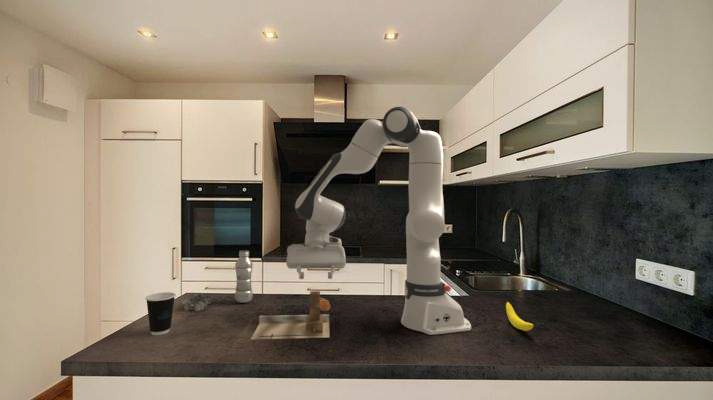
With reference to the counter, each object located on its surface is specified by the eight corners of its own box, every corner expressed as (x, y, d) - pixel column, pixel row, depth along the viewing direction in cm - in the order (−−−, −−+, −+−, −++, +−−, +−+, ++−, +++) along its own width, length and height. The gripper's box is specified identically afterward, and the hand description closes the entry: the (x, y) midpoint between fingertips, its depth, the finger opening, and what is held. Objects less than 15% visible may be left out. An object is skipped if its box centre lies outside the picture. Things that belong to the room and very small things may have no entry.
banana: (527, 341, 99) (528, 319, 99) (502, 318, 118) (502, 300, 118) (537, 341, 98) (538, 320, 98) (510, 318, 117) (511, 300, 117)
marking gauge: (322, 324, 105) (323, 289, 105) (322, 334, 98) (323, 296, 98) (306, 324, 105) (307, 289, 105) (305, 334, 97) (306, 296, 97)
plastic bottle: (247, 305, 127) (247, 252, 127) (231, 303, 128) (231, 252, 128) (255, 300, 133) (256, 250, 133) (240, 298, 135) (240, 249, 135)
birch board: (329, 325, 109) (329, 314, 109) (329, 342, 96) (329, 330, 96) (259, 326, 107) (259, 315, 107) (250, 344, 94) (251, 332, 94)
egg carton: (200, 312, 120) (200, 300, 120) (180, 311, 120) (180, 300, 120) (214, 302, 131) (214, 292, 131) (195, 301, 131) (195, 291, 131)
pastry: (334, 314, 119) (334, 303, 119) (315, 316, 117) (315, 305, 117) (327, 306, 128) (327, 296, 128) (309, 308, 126) (309, 298, 126)
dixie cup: (155, 326, 105) (155, 291, 105) (180, 327, 105) (180, 292, 105) (138, 337, 97) (139, 299, 97) (165, 337, 97) (166, 300, 97)
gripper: (287, 238, 117) (283, 273, 107) (345, 239, 119) (346, 272, 109) (288, 249, 122) (284, 283, 112) (344, 249, 123) (345, 282, 114)
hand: (315, 278), depth 111 cm, fingers open, 8 cm apart
